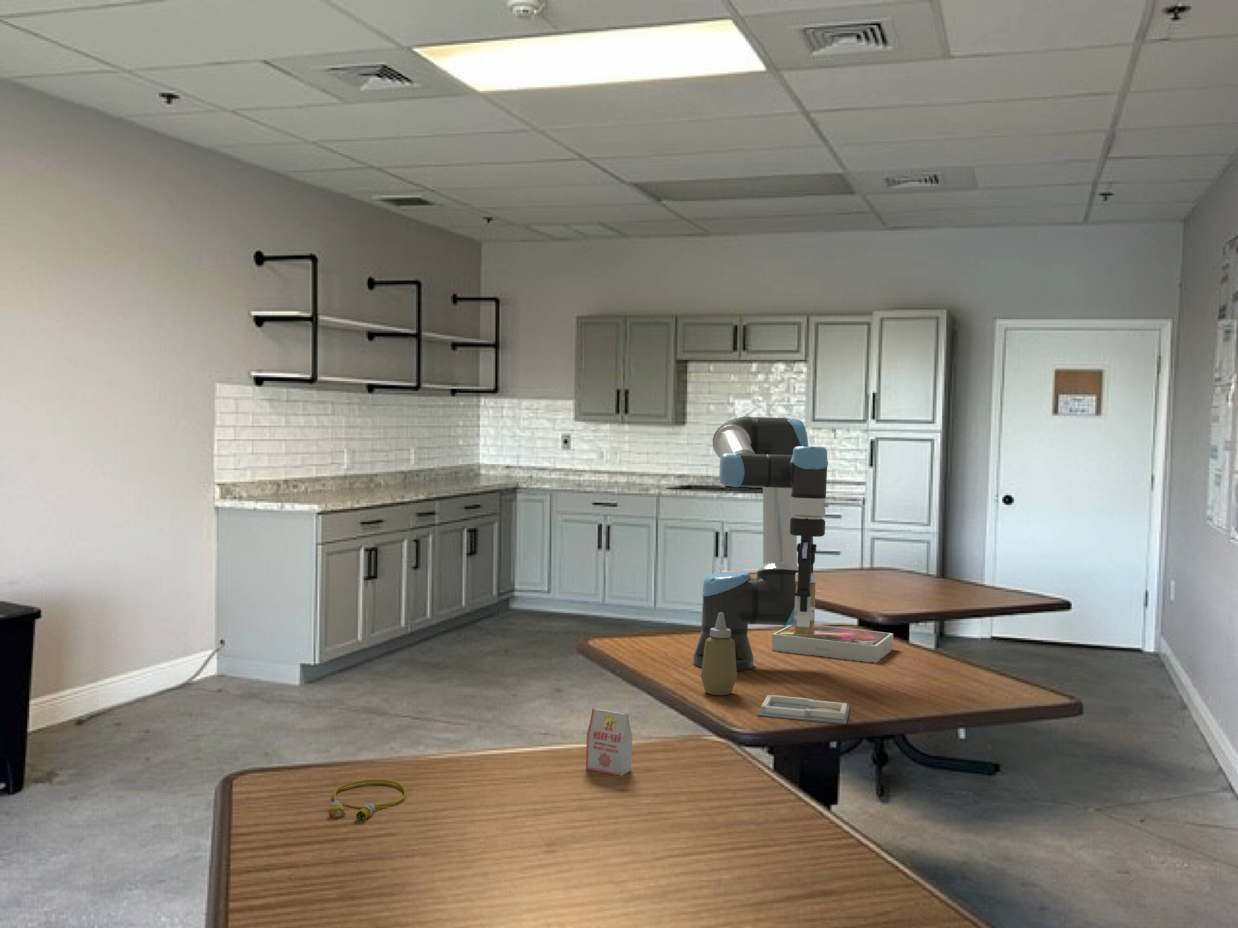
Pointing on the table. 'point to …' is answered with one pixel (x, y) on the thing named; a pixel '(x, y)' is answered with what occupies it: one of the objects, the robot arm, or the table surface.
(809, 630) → the sprinkles bottle
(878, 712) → the table surface
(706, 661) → the squeeze bottle
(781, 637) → the product packaging
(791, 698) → the keyhole track
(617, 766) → the white paper bag
